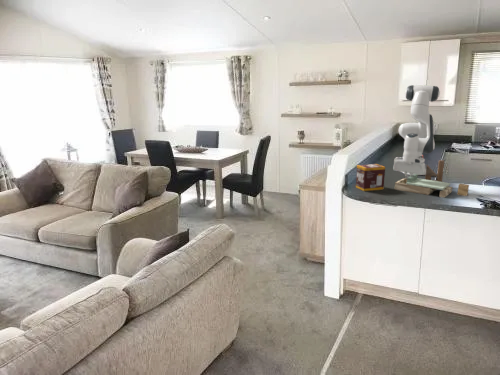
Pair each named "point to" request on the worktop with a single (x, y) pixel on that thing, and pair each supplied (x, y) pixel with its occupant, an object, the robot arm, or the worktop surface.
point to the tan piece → (420, 188)
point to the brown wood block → (463, 189)
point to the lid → (426, 182)
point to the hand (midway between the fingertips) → (408, 178)
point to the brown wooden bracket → (431, 173)
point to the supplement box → (370, 177)
